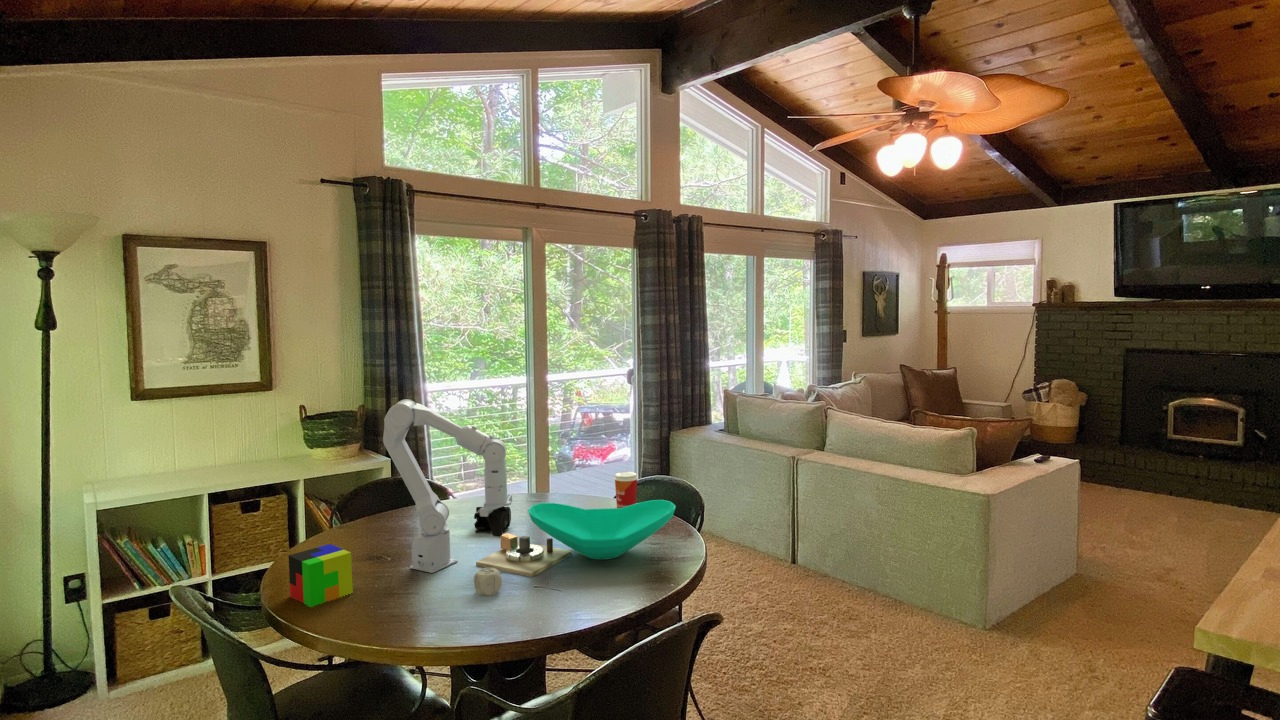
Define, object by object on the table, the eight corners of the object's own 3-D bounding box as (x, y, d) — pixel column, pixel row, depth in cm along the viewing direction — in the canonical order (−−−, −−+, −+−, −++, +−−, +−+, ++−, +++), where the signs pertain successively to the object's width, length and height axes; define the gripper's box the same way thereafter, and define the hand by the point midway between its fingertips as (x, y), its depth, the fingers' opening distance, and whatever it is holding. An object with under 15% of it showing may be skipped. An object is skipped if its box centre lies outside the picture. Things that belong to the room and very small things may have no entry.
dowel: (550, 553, 190) (550, 540, 190) (545, 552, 191) (545, 539, 191) (554, 551, 192) (553, 538, 191) (549, 550, 192) (548, 537, 192)
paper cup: (611, 515, 228) (611, 472, 226) (634, 513, 230) (633, 470, 229) (618, 522, 220) (617, 478, 219) (641, 519, 222) (641, 475, 221)
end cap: (511, 525, 218) (510, 504, 218) (506, 533, 211) (505, 510, 211) (479, 525, 218) (478, 504, 218) (473, 533, 211) (472, 511, 211)
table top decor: (671, 536, 206) (670, 491, 205) (682, 572, 178) (681, 520, 177) (533, 540, 203) (532, 495, 202) (523, 577, 176) (522, 525, 175)
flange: (551, 554, 188) (550, 540, 188) (521, 564, 181) (520, 550, 181) (518, 542, 198) (518, 529, 197) (489, 552, 191) (488, 538, 190)
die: (482, 597, 164) (481, 576, 163) (473, 591, 168) (473, 570, 167) (502, 592, 167) (501, 571, 166) (493, 586, 171) (492, 565, 170)
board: (532, 576, 176) (531, 553, 175) (476, 565, 184) (475, 542, 184) (572, 554, 192) (571, 532, 191) (518, 544, 200) (518, 523, 200)
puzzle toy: (331, 583, 173) (330, 543, 173) (352, 593, 167) (351, 552, 166) (290, 596, 166) (288, 555, 165) (310, 608, 159) (308, 564, 159)
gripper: (496, 493, 178) (498, 545, 179) (521, 479, 192) (523, 528, 193) (471, 491, 180) (473, 543, 181) (498, 478, 194) (499, 526, 195)
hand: (497, 535), depth 187 cm, fingers closed
